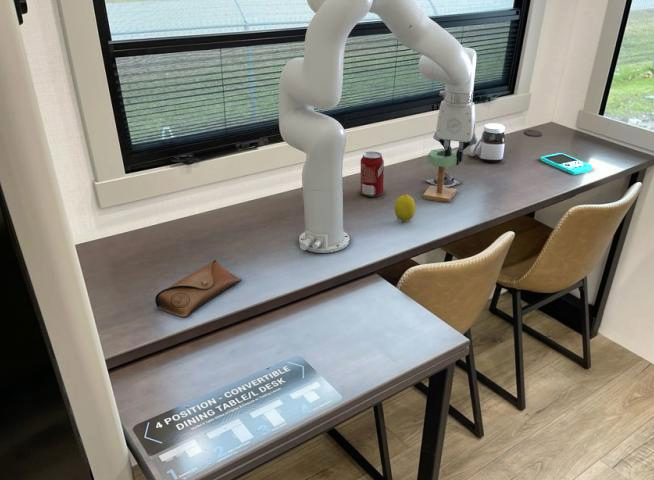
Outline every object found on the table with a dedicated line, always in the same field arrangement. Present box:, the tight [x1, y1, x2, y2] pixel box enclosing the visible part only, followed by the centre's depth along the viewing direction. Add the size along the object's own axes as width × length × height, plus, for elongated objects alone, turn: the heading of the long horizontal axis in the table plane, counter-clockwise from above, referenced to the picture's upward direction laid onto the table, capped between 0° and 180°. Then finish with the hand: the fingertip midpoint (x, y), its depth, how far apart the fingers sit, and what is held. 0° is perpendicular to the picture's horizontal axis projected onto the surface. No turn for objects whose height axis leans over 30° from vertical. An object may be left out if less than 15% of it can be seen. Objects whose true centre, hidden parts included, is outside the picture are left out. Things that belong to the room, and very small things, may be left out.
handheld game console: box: [540, 152, 593, 176], centre depth 204 cm, size 10×16×1 cm, turn 30°
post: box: [422, 166, 457, 203], centre depth 176 cm, size 8×8×9 cm
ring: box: [427, 148, 457, 168], centre depth 173 cm, size 8×8×2 cm
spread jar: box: [468, 122, 506, 164], centre depth 204 cm, size 12×11×12 cm
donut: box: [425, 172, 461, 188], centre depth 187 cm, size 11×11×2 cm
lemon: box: [394, 193, 416, 223], centre depth 161 cm, size 6×6×8 cm
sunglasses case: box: [154, 259, 242, 318], centre depth 129 cm, size 18×7×7 cm
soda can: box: [360, 151, 385, 198], centre depth 176 cm, size 7×7×12 cm
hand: (453, 162), depth 172 cm, fingers closed on ring, 2 cm apart
